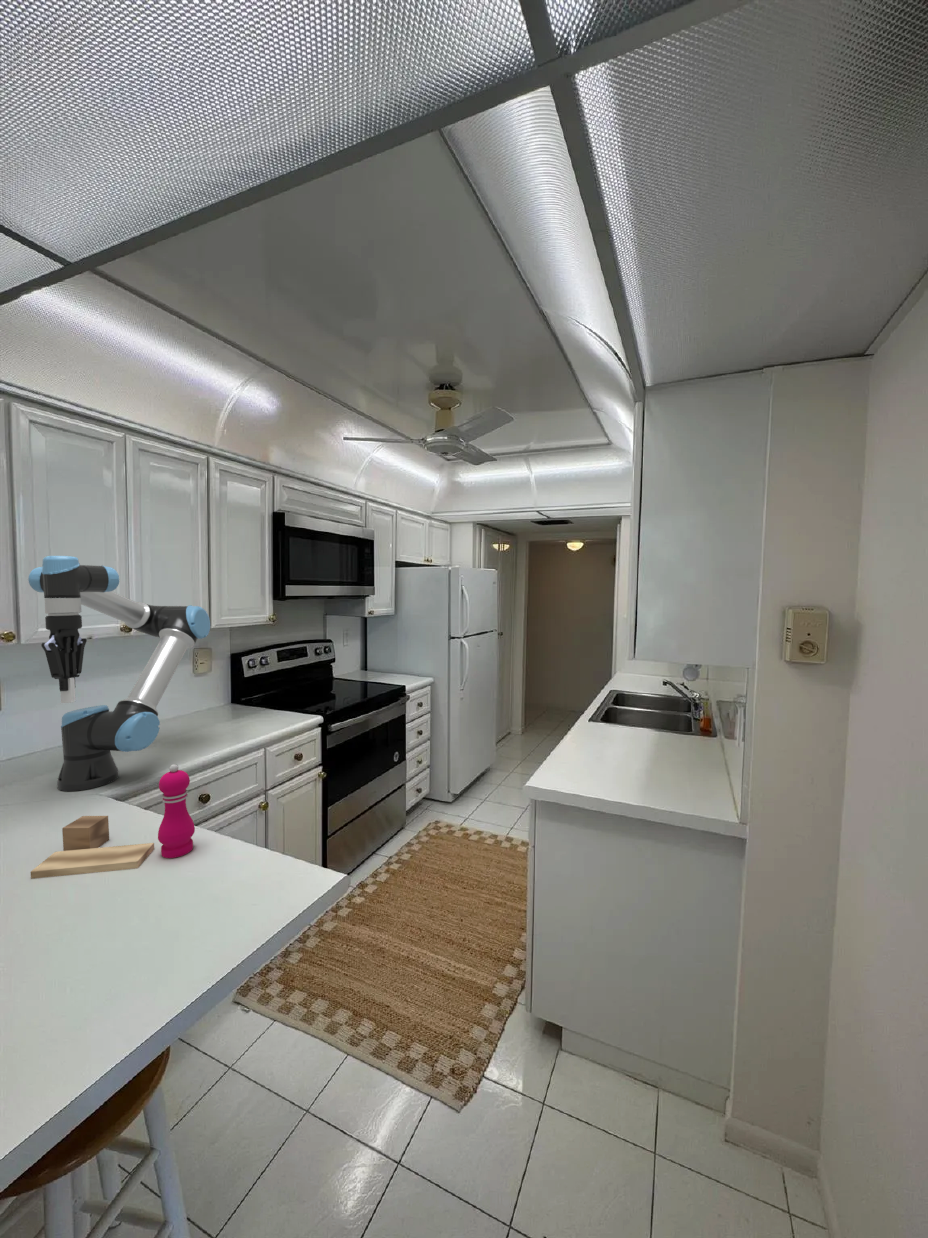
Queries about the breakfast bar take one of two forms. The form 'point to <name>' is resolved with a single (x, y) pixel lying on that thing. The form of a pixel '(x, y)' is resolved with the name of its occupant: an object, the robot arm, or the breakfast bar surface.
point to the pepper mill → (175, 815)
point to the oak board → (93, 860)
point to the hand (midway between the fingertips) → (68, 702)
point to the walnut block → (86, 833)
